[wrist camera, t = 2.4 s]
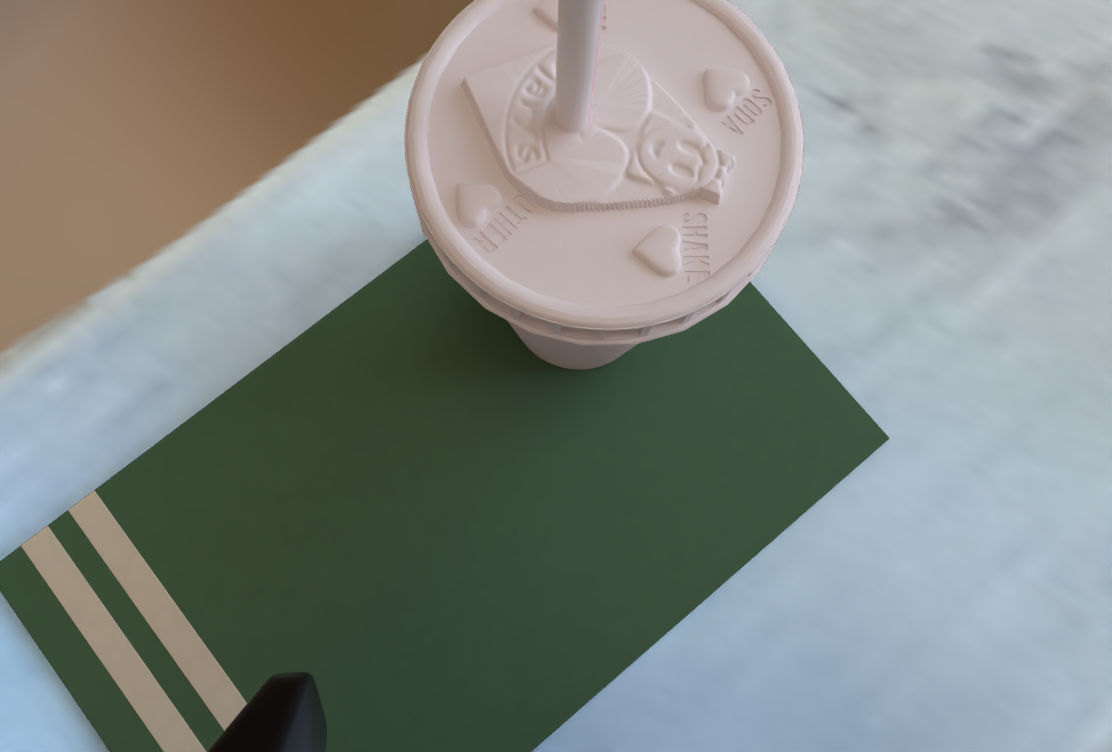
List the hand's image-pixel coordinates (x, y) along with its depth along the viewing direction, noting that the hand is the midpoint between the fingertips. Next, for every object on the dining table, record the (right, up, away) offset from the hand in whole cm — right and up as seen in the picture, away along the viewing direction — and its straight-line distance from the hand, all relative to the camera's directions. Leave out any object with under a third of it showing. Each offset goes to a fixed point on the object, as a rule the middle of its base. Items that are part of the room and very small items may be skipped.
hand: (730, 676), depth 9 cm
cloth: (-5, 0, +13) cm, 13 cm away
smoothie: (-1, +5, +14) cm, 15 cm away
